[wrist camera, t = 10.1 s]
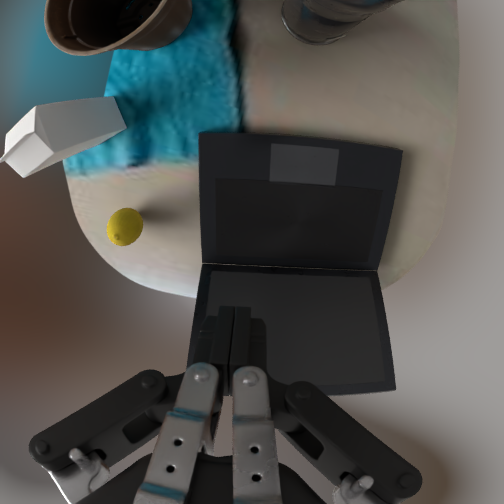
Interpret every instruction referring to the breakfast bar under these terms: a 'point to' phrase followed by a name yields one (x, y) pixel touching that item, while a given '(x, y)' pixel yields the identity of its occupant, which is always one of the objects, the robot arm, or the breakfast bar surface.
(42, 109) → the milk
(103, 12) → the plant pot
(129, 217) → the lemon
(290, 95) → the breakfast bar surface
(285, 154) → the laptop
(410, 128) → the breakfast bar surface
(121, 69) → the breakfast bar surface
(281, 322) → the laptop screen
